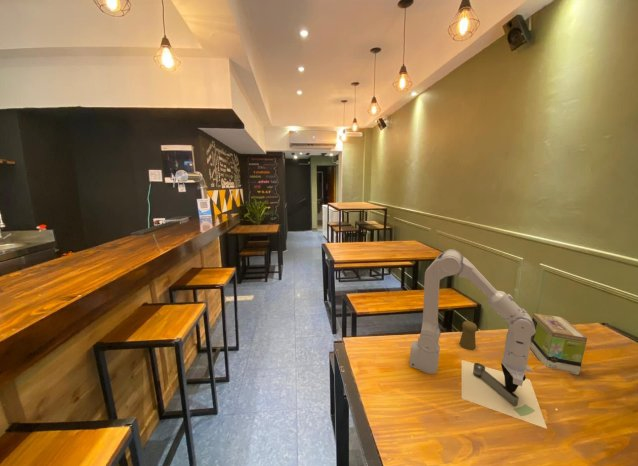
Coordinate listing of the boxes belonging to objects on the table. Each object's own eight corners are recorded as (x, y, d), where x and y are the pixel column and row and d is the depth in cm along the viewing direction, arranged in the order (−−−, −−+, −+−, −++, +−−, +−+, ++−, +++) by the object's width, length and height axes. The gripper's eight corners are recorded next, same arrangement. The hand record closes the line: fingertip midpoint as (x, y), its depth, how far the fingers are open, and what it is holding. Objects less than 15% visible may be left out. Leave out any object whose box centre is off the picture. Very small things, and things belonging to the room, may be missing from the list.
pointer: (470, 372, 88) (471, 363, 87) (478, 370, 89) (479, 362, 88) (511, 407, 74) (513, 397, 73) (519, 404, 75) (521, 395, 74)
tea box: (580, 376, 88) (589, 337, 85) (545, 369, 91) (552, 331, 88) (556, 350, 102) (563, 316, 99) (526, 345, 105) (532, 312, 102)
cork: (478, 353, 99) (481, 327, 97) (461, 351, 101) (464, 326, 99) (472, 344, 105) (475, 320, 103) (456, 342, 106) (459, 318, 104)
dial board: (461, 401, 77) (461, 398, 77) (461, 362, 94) (461, 359, 94) (546, 431, 68) (547, 428, 68) (529, 382, 85) (529, 379, 85)
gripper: (539, 370, 68) (531, 413, 71) (527, 341, 80) (521, 379, 83) (507, 361, 71) (500, 402, 74) (500, 335, 84) (495, 371, 86)
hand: (509, 389), depth 79 cm, fingers closed
